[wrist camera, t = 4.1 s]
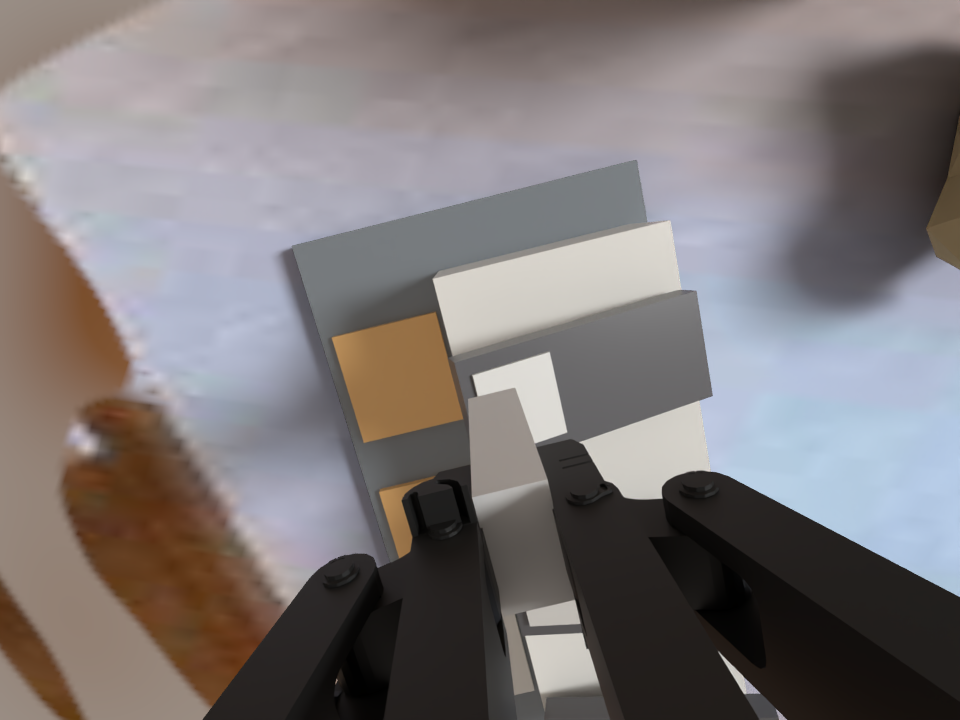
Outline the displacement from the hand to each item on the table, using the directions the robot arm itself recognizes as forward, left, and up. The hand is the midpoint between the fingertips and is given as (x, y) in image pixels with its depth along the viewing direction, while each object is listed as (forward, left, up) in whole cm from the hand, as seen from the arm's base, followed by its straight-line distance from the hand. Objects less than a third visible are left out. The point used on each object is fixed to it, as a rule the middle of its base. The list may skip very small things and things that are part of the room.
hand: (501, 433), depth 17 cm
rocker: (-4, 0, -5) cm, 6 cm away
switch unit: (-1, +9, -14) cm, 17 cm away
